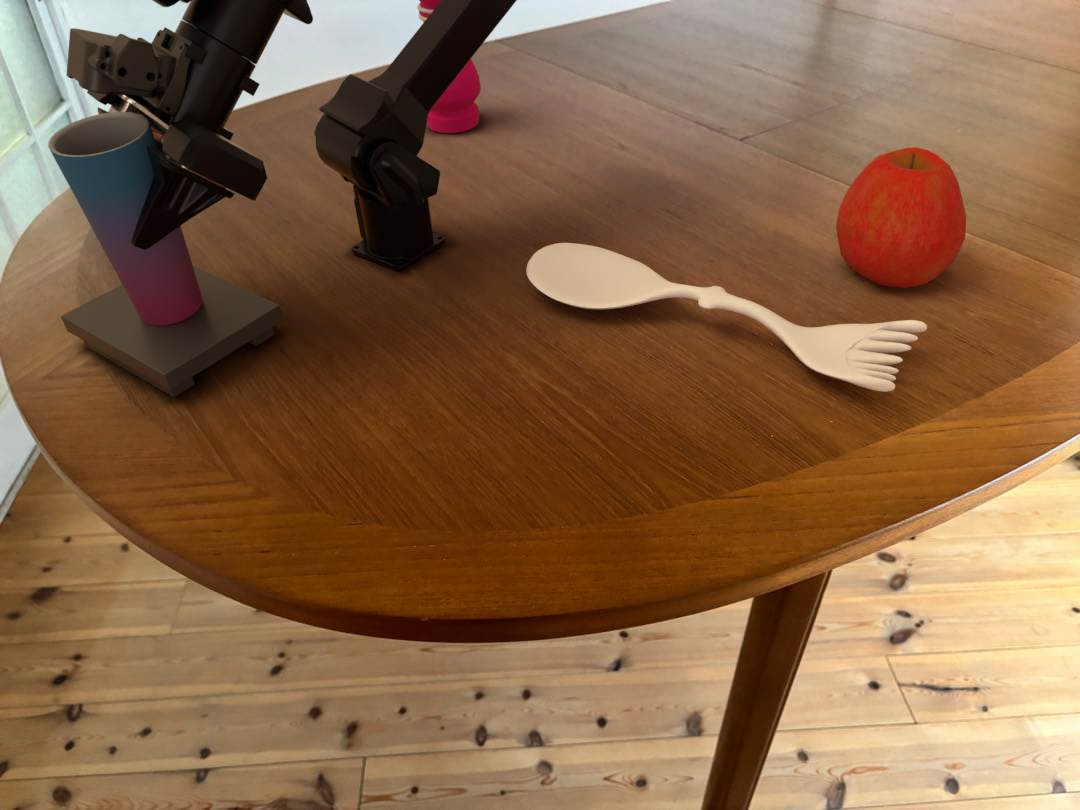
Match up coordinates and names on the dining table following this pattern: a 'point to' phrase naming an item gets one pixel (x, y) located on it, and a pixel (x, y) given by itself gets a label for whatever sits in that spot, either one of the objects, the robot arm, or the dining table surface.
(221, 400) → the dining table surface
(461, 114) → the pepper mill
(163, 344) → the grey footed tile
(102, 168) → the cup
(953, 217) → the apple
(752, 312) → the spoon
